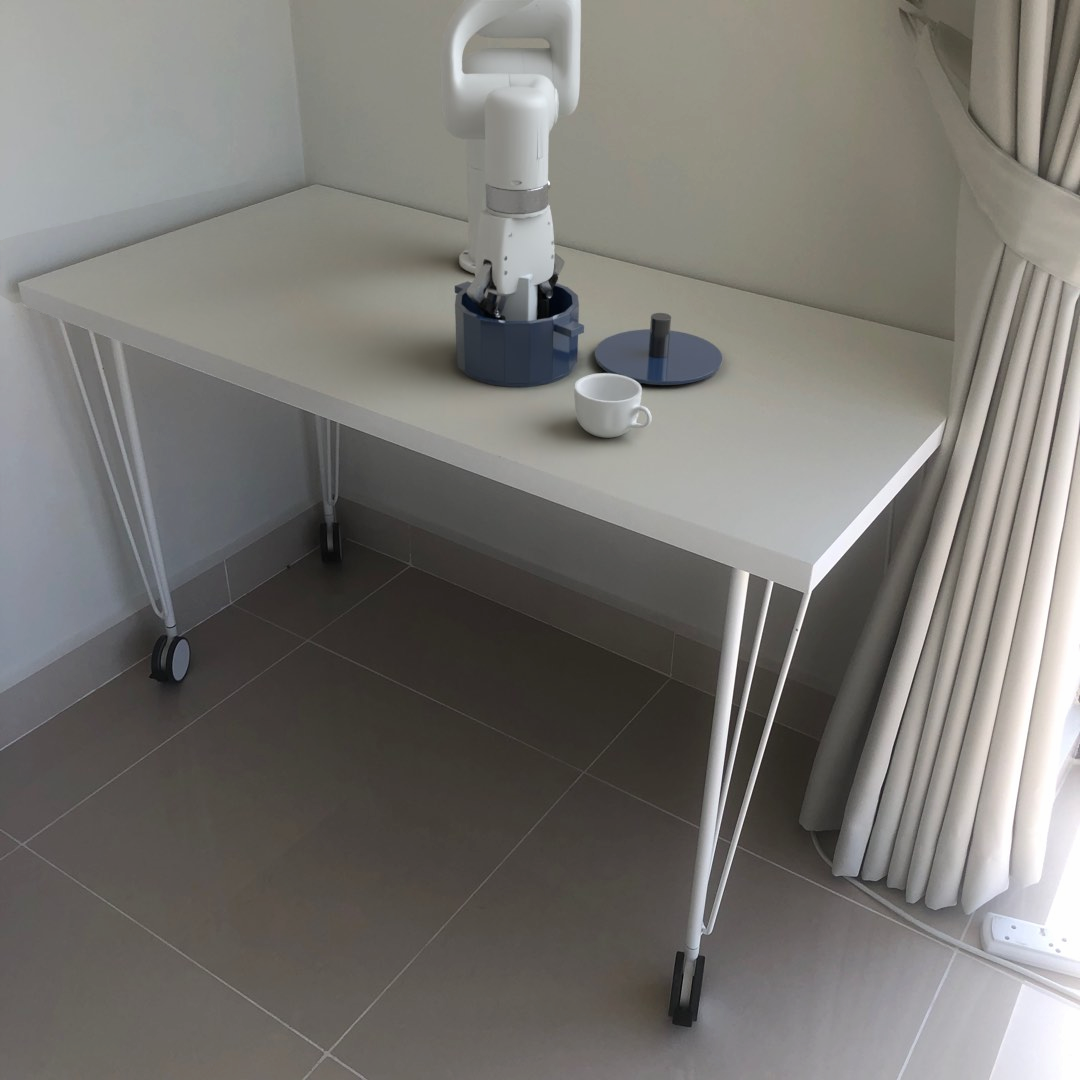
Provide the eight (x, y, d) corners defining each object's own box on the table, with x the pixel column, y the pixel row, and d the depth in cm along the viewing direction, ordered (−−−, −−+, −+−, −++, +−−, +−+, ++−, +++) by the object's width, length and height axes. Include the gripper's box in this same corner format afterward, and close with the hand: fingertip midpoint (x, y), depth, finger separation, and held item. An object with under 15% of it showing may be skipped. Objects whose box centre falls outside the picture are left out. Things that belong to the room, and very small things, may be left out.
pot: (503, 322, 163) (503, 264, 159) (616, 367, 151) (619, 305, 147) (419, 354, 154) (415, 293, 149) (532, 405, 142) (533, 340, 137)
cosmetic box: (528, 368, 149) (529, 278, 143) (496, 365, 150) (495, 276, 144) (538, 349, 154) (539, 262, 148) (506, 346, 155) (506, 259, 149)
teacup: (559, 430, 136) (560, 388, 133) (598, 408, 141) (600, 367, 138) (629, 457, 131) (632, 414, 128) (667, 433, 136) (671, 391, 133)
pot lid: (649, 326, 163) (652, 283, 159) (747, 362, 153) (752, 316, 150) (568, 361, 153) (569, 316, 149) (667, 401, 143) (671, 354, 140)
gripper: (544, 176, 148) (542, 308, 158) (442, 205, 138) (447, 345, 147) (588, 189, 144) (583, 324, 154) (486, 219, 133) (488, 362, 143)
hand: (517, 333), depth 150 cm, fingers closed on cosmetic box, 7 cm apart
